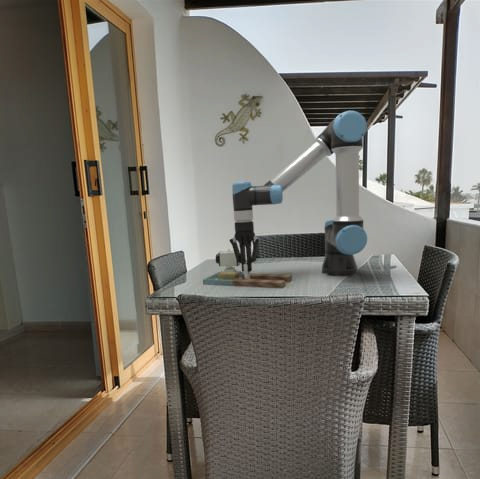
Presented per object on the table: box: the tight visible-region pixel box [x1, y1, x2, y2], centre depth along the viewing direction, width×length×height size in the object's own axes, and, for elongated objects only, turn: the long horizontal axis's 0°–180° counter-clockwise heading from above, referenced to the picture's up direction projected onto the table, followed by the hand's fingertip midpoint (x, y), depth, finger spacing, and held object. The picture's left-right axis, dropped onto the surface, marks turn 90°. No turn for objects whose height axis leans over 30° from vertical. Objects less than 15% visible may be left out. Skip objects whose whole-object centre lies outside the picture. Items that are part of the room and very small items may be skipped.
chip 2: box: [226, 271, 240, 280], centre depth 146 cm, size 4×4×4 cm
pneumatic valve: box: [215, 249, 241, 272], centre depth 162 cm, size 6×12×12 cm, turn 78°
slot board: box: [232, 272, 293, 289], centre depth 141 cm, size 20×14×3 cm
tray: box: [202, 271, 244, 287], centre depth 147 cm, size 13×14×3 cm
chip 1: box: [216, 271, 228, 280], centre depth 147 cm, size 4×4×4 cm
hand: (247, 279), depth 144 cm, fingers closed
